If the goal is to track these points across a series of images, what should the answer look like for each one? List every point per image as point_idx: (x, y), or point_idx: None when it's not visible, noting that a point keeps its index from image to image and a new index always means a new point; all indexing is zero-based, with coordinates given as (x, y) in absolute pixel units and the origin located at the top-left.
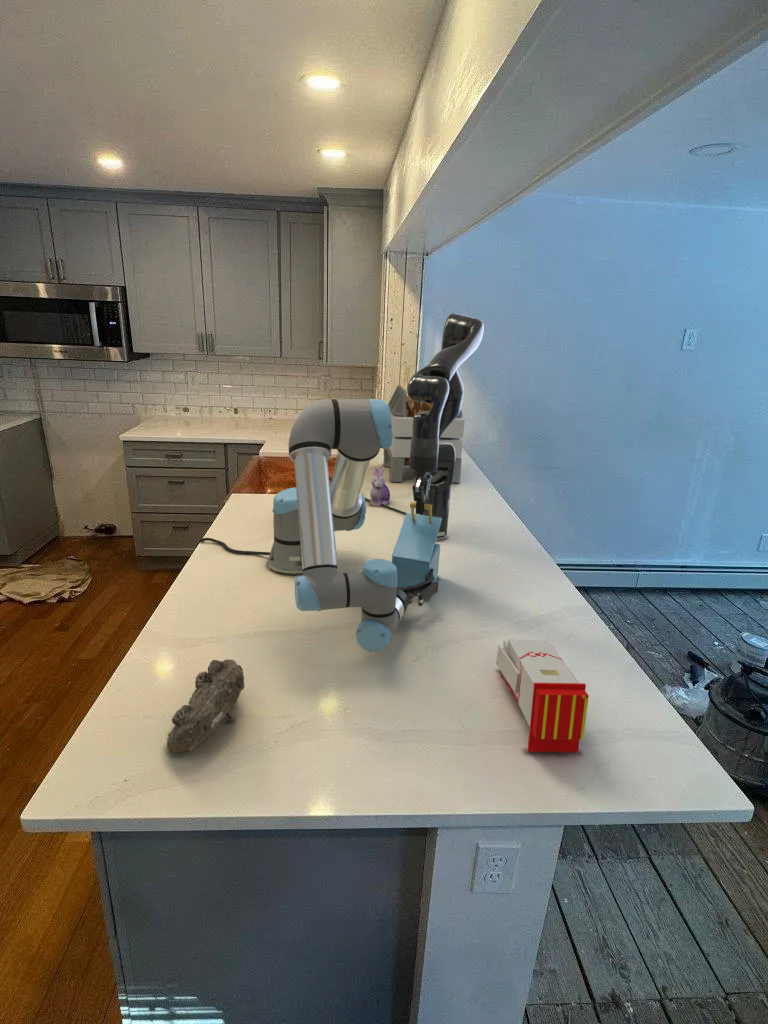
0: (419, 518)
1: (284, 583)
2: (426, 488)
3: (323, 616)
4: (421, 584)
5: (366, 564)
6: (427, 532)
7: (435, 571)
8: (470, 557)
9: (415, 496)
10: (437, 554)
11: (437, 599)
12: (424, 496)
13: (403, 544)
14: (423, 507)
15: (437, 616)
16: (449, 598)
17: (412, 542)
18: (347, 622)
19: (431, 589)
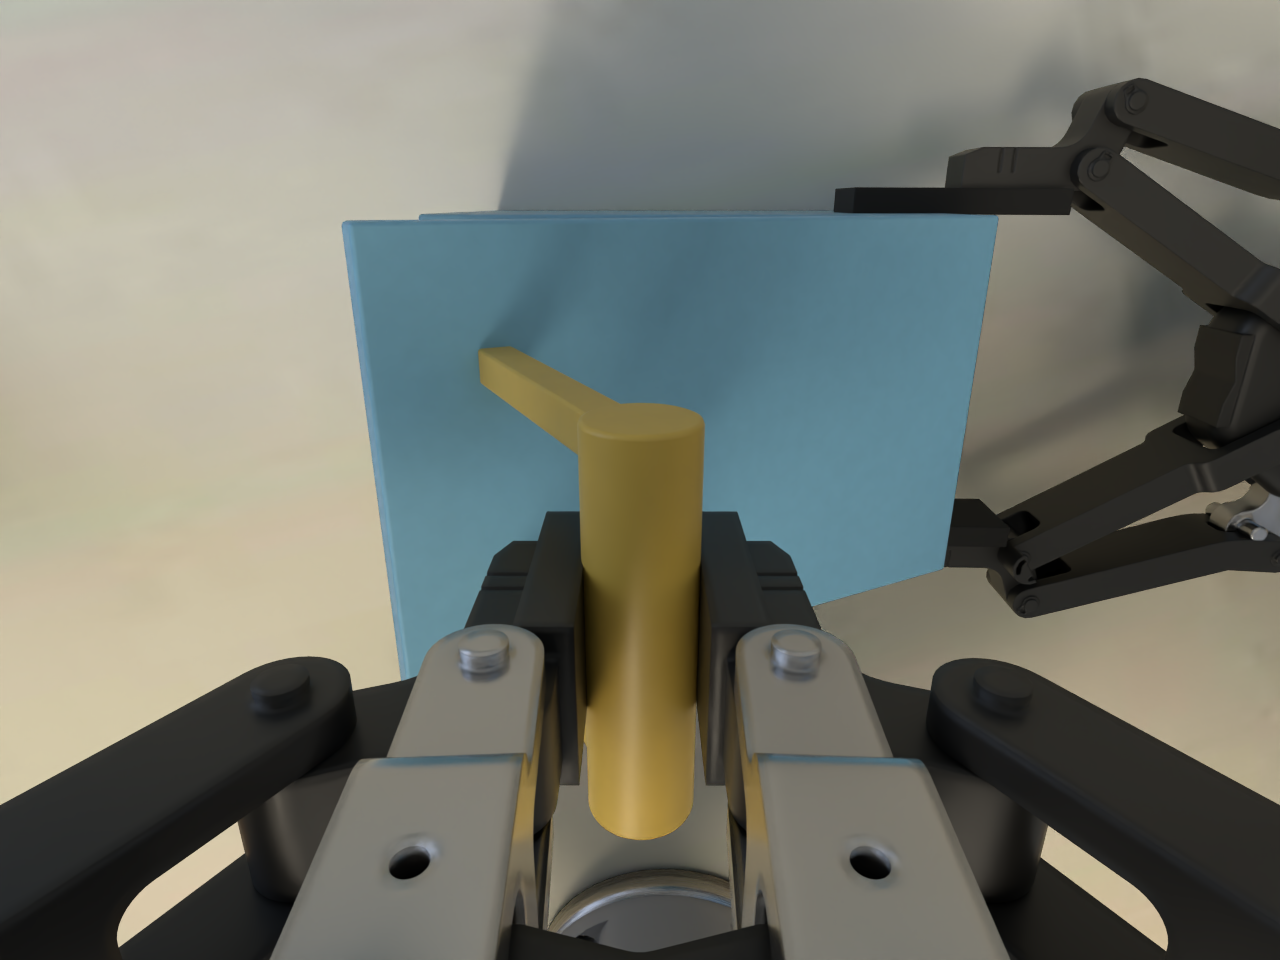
0: (462, 534)
1: None
2: (996, 952)
3: (1171, 690)
4: (1183, 223)
5: None
6: (665, 351)
7: (600, 211)
8: (20, 12)
9: (1119, 950)
10: (554, 213)
11: (833, 137)
12: (861, 731)
13: (838, 534)
14: (751, 569)
15: (1073, 85)
16: (794, 51)
17: (810, 463)
18: (1219, 572)
19: (1242, 119)
